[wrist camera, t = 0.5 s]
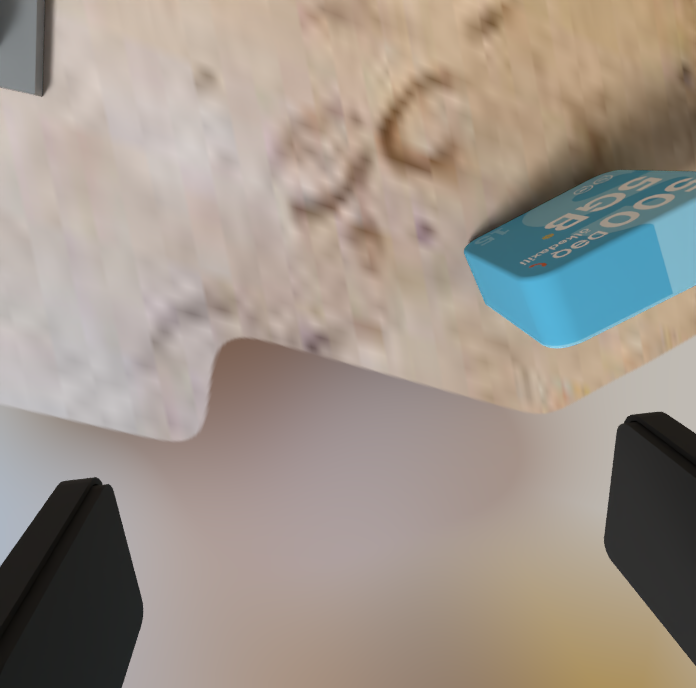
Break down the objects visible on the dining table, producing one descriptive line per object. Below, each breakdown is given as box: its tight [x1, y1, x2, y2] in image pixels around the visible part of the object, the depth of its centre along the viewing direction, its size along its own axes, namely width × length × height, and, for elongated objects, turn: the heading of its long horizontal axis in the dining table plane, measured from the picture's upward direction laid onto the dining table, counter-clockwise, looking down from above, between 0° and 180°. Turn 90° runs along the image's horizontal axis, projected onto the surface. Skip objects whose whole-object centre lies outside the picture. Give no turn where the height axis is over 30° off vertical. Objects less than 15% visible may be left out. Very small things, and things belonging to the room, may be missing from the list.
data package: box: [464, 170, 696, 348], centre depth 33 cm, size 12×4×12 cm, turn 117°
